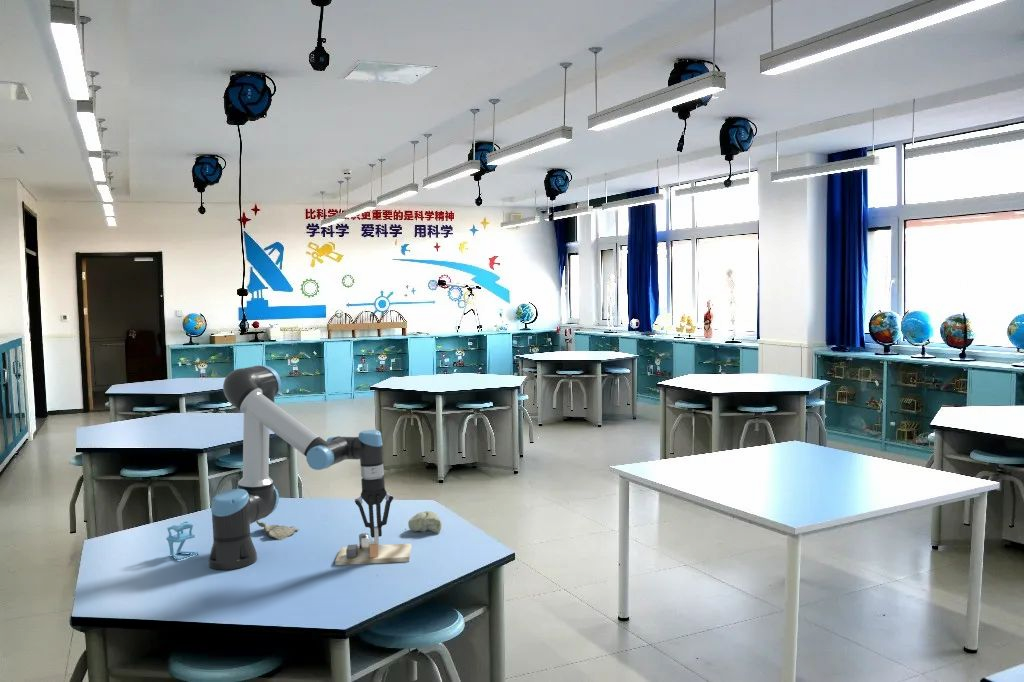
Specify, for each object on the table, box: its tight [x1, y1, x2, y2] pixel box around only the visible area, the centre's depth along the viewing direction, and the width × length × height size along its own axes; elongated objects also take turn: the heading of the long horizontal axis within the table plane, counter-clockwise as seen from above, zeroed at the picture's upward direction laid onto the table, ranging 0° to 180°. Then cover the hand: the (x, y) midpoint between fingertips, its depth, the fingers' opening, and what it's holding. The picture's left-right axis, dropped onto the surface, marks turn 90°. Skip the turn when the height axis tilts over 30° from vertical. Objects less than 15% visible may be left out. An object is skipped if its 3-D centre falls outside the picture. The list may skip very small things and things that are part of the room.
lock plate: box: [334, 543, 412, 566], centre depth 258 cm, size 24×14×2 cm, turn 94°
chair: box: [165, 521, 199, 561], centre depth 263 cm, size 8×8×12 cm
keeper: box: [346, 544, 359, 559], centre depth 255 cm, size 3×5×3 cm, turn 4°
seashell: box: [407, 510, 443, 534], centre depth 284 cm, size 13×8×10 cm
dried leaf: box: [255, 520, 300, 541], centre depth 287 cm, size 18×16×5 cm
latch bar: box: [358, 532, 378, 558], centre depth 258 cm, size 13×3×4 cm, turn 27°
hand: (376, 546), depth 256 cm, fingers closed
